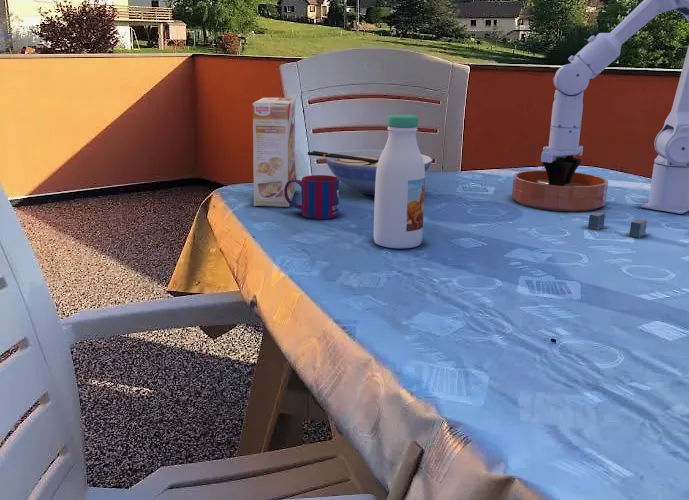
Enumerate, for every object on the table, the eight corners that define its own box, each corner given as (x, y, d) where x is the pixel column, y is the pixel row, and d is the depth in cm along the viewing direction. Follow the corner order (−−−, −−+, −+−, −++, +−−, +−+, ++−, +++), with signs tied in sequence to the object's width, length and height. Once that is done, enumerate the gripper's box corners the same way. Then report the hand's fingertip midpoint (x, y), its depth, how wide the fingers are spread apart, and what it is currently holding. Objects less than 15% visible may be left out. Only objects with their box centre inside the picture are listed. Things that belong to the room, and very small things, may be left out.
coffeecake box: (289, 207, 135) (289, 103, 129) (252, 206, 135) (250, 102, 130) (296, 191, 149) (296, 97, 144) (262, 190, 149) (261, 96, 144)
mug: (332, 220, 125) (333, 182, 124) (279, 216, 128) (279, 179, 126) (342, 212, 132) (343, 176, 130) (291, 208, 134) (291, 172, 132)
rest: (587, 228, 124) (589, 214, 123) (594, 225, 126) (596, 211, 125) (638, 238, 118) (640, 223, 117) (645, 234, 120) (647, 220, 120)
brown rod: (534, 187, 146) (534, 179, 146) (537, 186, 147) (538, 178, 147) (580, 194, 140) (581, 186, 139) (583, 193, 141) (584, 185, 141)
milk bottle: (389, 252, 107) (394, 118, 102) (364, 239, 114) (368, 113, 108) (431, 246, 111) (438, 117, 105) (405, 234, 117) (410, 112, 112)
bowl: (537, 189, 157) (539, 167, 155) (619, 202, 145) (622, 178, 144) (494, 201, 144) (496, 177, 142) (581, 217, 132) (584, 190, 130)
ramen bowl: (453, 190, 154) (455, 152, 152) (403, 209, 135) (405, 166, 133) (355, 177, 167) (356, 142, 164) (297, 193, 148) (297, 154, 146)
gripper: (562, 122, 148) (556, 186, 152) (529, 127, 137) (523, 196, 141) (595, 125, 143) (587, 191, 147) (563, 130, 133) (556, 201, 137)
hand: (558, 194), depth 144 cm, fingers closed on brown rod, 1 cm apart
